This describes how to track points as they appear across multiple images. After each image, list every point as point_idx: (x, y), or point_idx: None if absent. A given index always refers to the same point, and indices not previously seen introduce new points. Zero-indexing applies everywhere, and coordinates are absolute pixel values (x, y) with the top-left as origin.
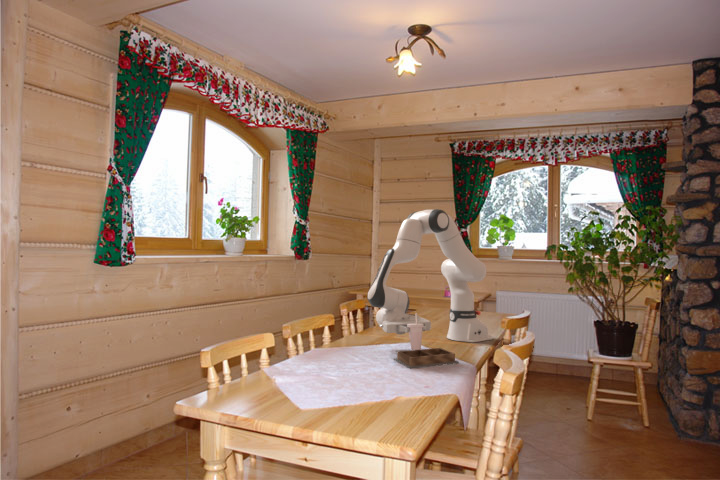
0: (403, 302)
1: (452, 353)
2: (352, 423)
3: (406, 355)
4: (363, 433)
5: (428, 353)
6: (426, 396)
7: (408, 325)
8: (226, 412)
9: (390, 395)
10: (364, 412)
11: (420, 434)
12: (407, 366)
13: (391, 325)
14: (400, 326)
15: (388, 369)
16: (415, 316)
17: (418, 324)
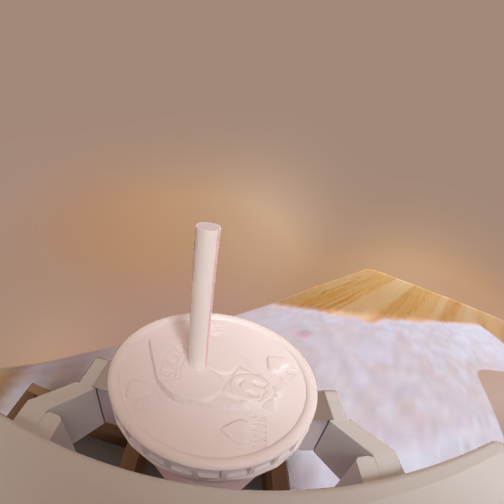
0: None
1: (34, 391)
2: (421, 297)
3: (282, 481)
4: (408, 286)
5: (126, 460)
6: (324, 310)
7: (309, 387)
8: None
9: (384, 326)
10: (415, 306)
11: (359, 273)
12: (286, 466)
13: (477, 451)
14: (385, 448)
15: None
16: (214, 284)
17: (210, 330)
